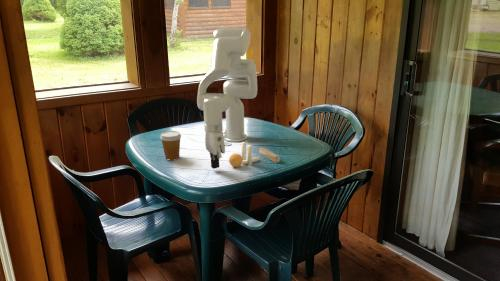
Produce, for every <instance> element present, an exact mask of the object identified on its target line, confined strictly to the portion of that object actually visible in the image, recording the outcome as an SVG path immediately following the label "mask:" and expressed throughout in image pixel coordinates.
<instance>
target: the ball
mask: <svg viewBox="0 0 500 281" xmlns="http://www.w3.org/2000/svg"><path fill="white" fill-rule="evenodd" d="M228 161H229V164H230V165H231V166H232V167H234V168H238V167H240V166H241V165H242V161H243V159H242V154H240V153H236V152H235V153H232V154H230V156H229V158H228Z"/></svg>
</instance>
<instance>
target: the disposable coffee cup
mask: <svg viewBox="0 0 500 281" xmlns="http://www.w3.org/2000/svg"><path fill="white" fill-rule="evenodd" d="M181 137H182V135H181V133H180V131H177V130H168V131H165V132H161V134H160V137H159V138H160V140H161V143H162V148H163V152H164V157H165V160H167V159H170V160H169V161H175V160H174V159H176V160H179V159H180V148H181V147H180V144H181Z"/></svg>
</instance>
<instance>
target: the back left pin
mask: <svg viewBox="0 0 500 281" xmlns="http://www.w3.org/2000/svg"><path fill="white" fill-rule="evenodd" d="M241 156H242V159H243V160H247V142H246V141H241Z"/></svg>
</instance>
